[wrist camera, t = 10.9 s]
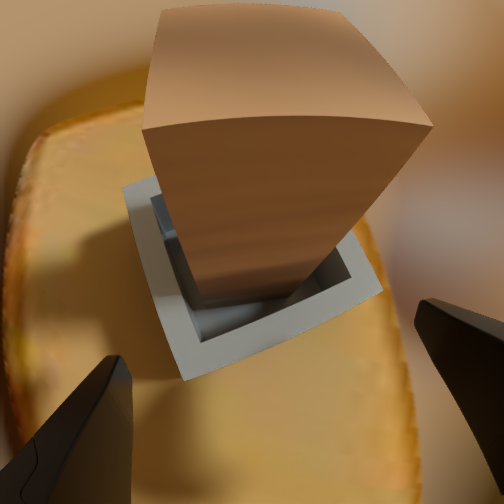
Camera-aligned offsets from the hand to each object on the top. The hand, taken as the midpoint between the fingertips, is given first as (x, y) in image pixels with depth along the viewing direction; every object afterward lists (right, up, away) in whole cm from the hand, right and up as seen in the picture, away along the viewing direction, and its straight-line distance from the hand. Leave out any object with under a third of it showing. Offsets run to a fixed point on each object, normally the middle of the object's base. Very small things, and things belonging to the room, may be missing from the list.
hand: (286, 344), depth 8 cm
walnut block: (-1, +2, +9) cm, 9 cm away
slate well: (-1, +2, +9) cm, 10 cm away
